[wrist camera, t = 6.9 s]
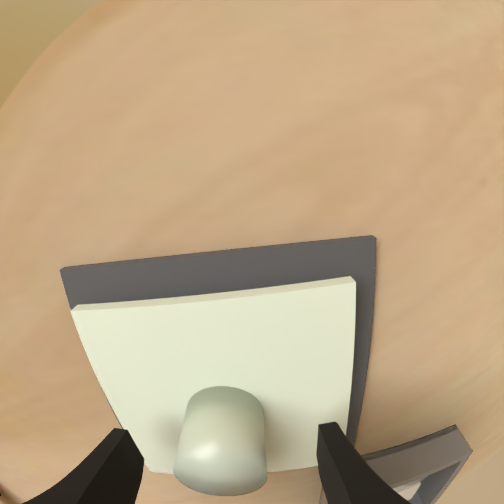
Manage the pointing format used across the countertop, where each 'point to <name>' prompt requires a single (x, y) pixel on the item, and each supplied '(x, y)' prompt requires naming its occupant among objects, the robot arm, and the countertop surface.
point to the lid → (226, 377)
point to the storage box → (420, 465)
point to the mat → (242, 284)
